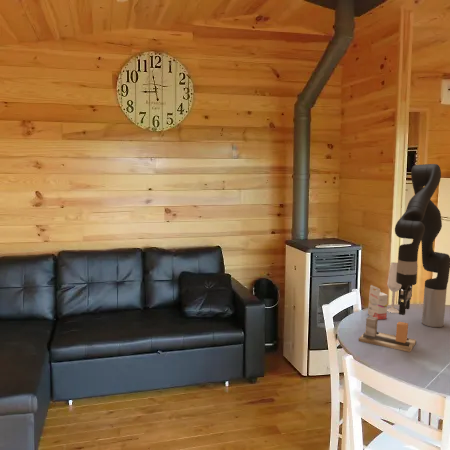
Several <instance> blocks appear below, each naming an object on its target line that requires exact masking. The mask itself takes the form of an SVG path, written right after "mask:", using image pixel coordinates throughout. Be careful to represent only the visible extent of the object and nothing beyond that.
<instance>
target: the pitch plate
mask: <svg viewBox="0 0 450 450" xmlns="http://www.w3.org/2000/svg"><path fill="white" fill-rule="evenodd" d="M365 320H366V323H365V332H363V333H362V334H361V336H359V337H358V342H362V343H367V344H370V345H376V346H381V347H384V348H391V349H395V350H399V351H404V352H409V353H410V352H412V350H413V348H414V346H415V345H416V343H417V339H414V338H409V337H407V341H406V343H402V342H397V341H396V334H395V335H394V334H391V333H390V334H389V333H383V332H379V331H378V318H376V317H372V316H370V315H368V316H367V317H366V319H365Z"/></svg>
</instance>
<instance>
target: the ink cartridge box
mask: <svg viewBox="0 0 450 450" xmlns="http://www.w3.org/2000/svg"><path fill="white" fill-rule="evenodd" d="M368 293H369V295H368V308H367V315H368V314H369V315H368V316H371V317H376V318H378V320H387V315H388V312H387V309H388V299H389V294H386V293H384V292H383V291H382V292H381V288H379V287H377V286H374V285H373V284H370V286H369V292H368Z"/></svg>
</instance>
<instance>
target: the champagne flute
mask: <svg viewBox="0 0 450 450" xmlns="http://www.w3.org/2000/svg"><path fill="white" fill-rule="evenodd" d="M397 263H398V262H396V261H395V262H390V264H389V265H390V266H389V270H388V277H387V281H386V282H387V283H386V284H387V288H388V289H389V290H390V291H391V292H392V295H391V297H392V298H391V306H390V307H387V311H388V312H387V313H390V312H391V313H392V314H399V309H397V308H395V300H396V299H395V296H396V292H399V289H400V288H401V286H402V285H401V284H398V283H397V282H396V274H397ZM391 313H390V314H391Z"/></svg>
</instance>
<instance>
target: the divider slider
mask: <svg viewBox="0 0 450 450" xmlns="http://www.w3.org/2000/svg"><path fill="white" fill-rule="evenodd" d="M395 332H396V334H395V336H396V341H397V342H402V343H406V341H407V338H408V332H409V322H402V321H398V322H397V323H396V331H395Z"/></svg>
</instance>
